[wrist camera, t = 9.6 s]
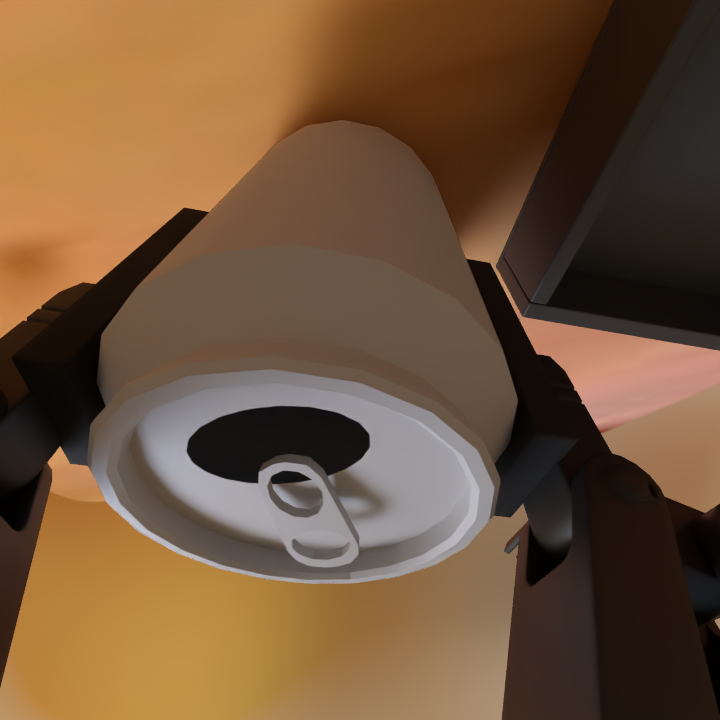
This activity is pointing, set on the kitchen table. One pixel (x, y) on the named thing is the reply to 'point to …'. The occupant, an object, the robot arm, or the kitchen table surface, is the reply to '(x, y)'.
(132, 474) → the can
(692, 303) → the bin
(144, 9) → the kitchen table surface
